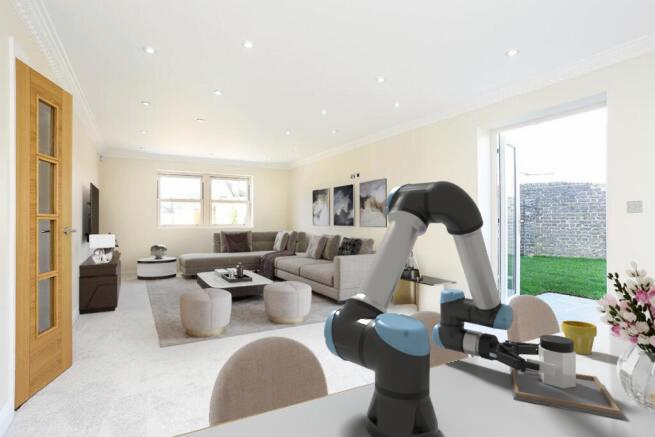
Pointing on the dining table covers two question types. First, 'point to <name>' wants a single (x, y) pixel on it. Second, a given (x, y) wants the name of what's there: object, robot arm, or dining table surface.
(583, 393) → the square tray
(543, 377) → the jar
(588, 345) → the plant pot
